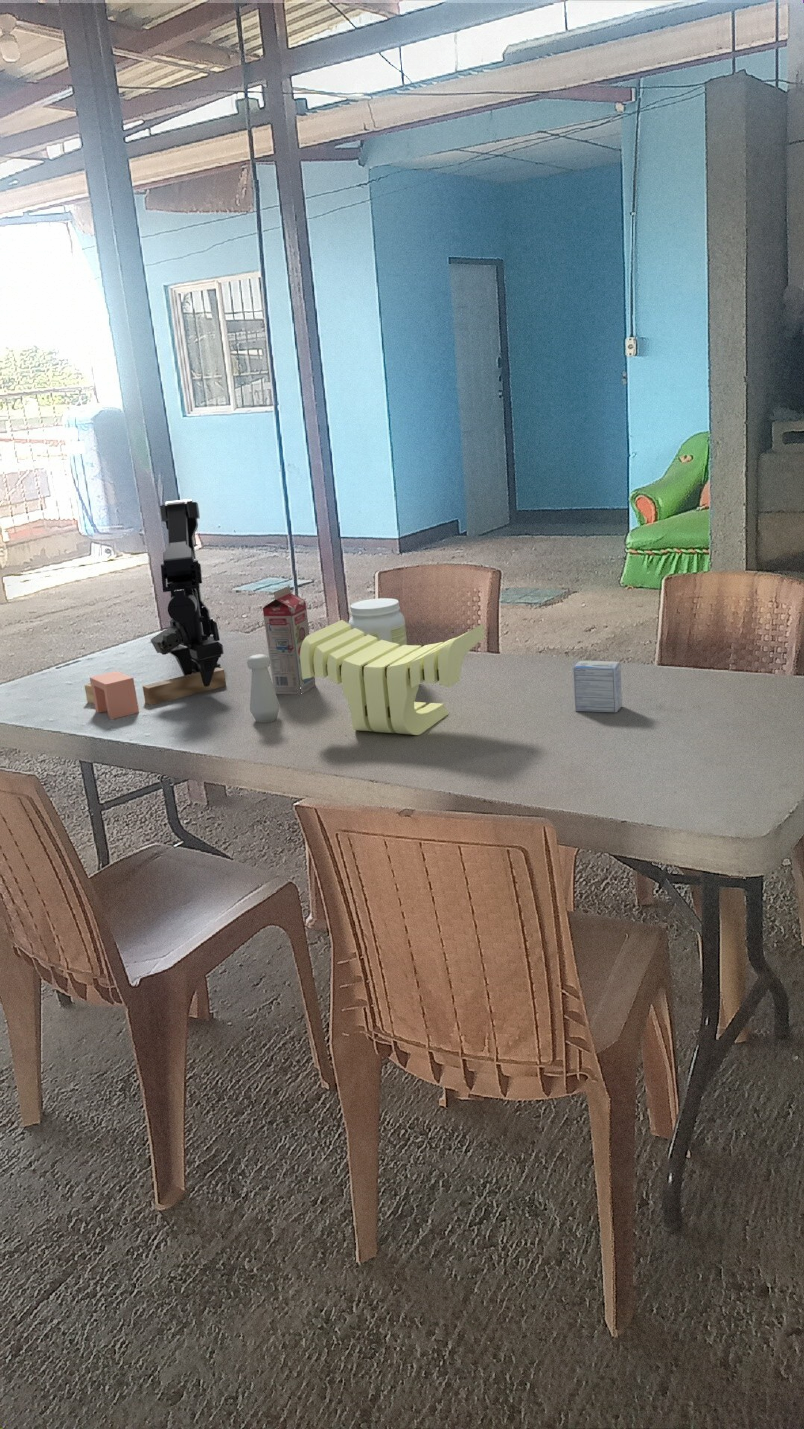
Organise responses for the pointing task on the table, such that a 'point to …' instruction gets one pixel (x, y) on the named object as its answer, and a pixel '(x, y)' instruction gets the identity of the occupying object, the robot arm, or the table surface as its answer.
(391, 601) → the supplement tub
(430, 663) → the slatted curved stool
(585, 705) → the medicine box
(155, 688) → the wooden plank
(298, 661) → the juice carton
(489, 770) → the table surface
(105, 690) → the arch block
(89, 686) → the wooden cube
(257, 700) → the salt shaker
